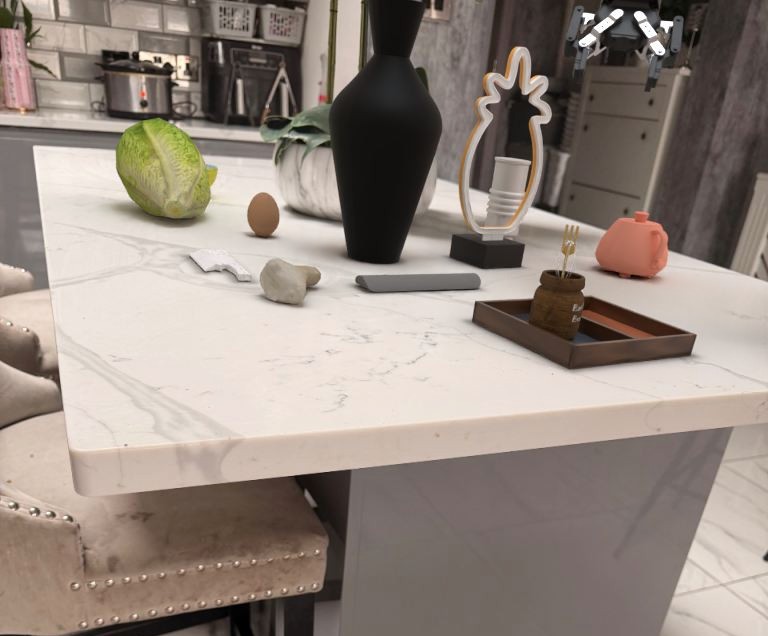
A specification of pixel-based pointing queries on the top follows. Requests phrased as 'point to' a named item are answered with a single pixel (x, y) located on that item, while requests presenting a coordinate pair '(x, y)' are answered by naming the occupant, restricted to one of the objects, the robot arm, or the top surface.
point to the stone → (287, 281)
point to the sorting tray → (588, 333)
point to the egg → (263, 214)
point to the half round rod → (419, 282)
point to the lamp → (490, 242)
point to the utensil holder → (559, 296)
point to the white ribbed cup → (506, 192)
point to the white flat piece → (219, 262)
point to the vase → (384, 137)
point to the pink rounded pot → (633, 247)
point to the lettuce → (163, 170)
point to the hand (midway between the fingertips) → (614, 82)
